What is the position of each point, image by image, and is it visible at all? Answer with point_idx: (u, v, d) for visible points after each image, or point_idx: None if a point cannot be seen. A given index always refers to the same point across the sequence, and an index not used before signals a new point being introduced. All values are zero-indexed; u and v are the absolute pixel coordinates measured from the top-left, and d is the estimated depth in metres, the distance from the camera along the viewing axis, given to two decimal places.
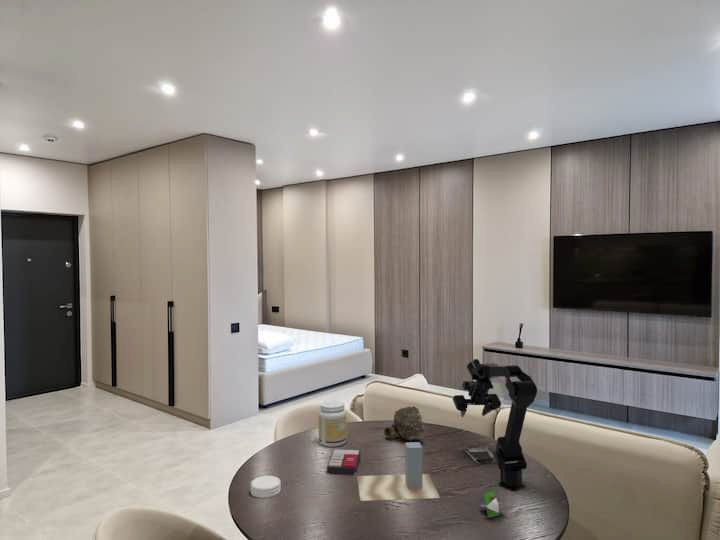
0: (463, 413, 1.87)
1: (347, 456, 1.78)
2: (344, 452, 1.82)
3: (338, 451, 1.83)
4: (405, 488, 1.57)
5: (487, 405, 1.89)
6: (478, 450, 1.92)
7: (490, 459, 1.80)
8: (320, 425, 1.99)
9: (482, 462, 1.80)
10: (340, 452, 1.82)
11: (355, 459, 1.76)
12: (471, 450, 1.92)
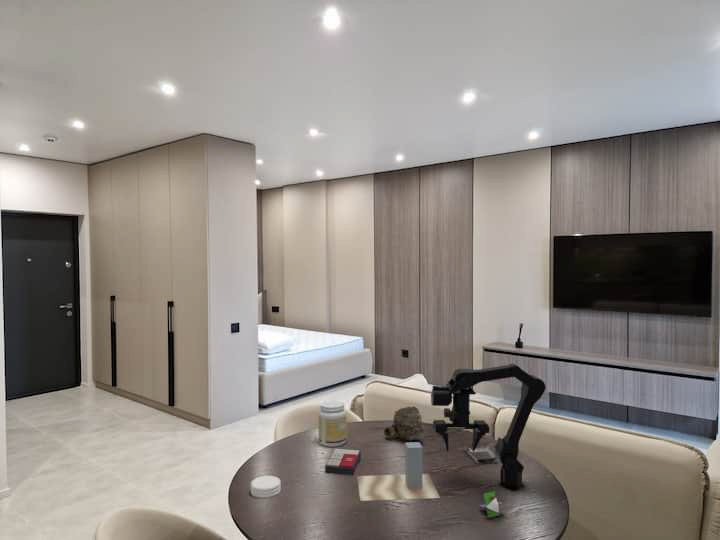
0: (446, 441, 1.59)
1: (346, 456, 1.78)
2: (344, 452, 1.82)
3: (338, 451, 1.84)
4: (405, 488, 1.57)
5: (475, 433, 1.61)
6: (479, 450, 1.92)
7: (491, 459, 1.80)
8: (320, 425, 1.99)
9: (483, 462, 1.80)
10: (340, 452, 1.82)
11: (354, 459, 1.76)
12: None
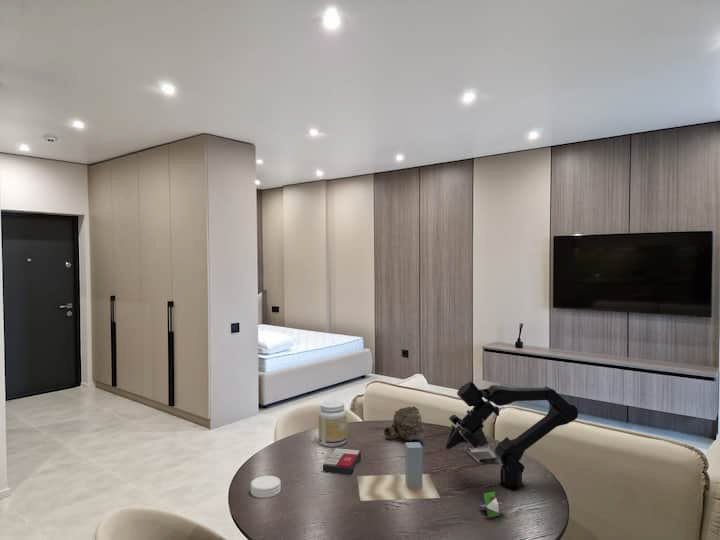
0: (450, 434, 1.61)
1: (345, 455, 1.79)
2: (344, 451, 1.83)
3: (338, 450, 1.84)
4: (405, 488, 1.57)
5: None
6: (479, 450, 1.92)
7: (493, 459, 1.80)
8: (320, 425, 1.99)
9: (485, 462, 1.80)
10: (340, 452, 1.83)
11: (352, 459, 1.76)
12: (472, 450, 1.92)
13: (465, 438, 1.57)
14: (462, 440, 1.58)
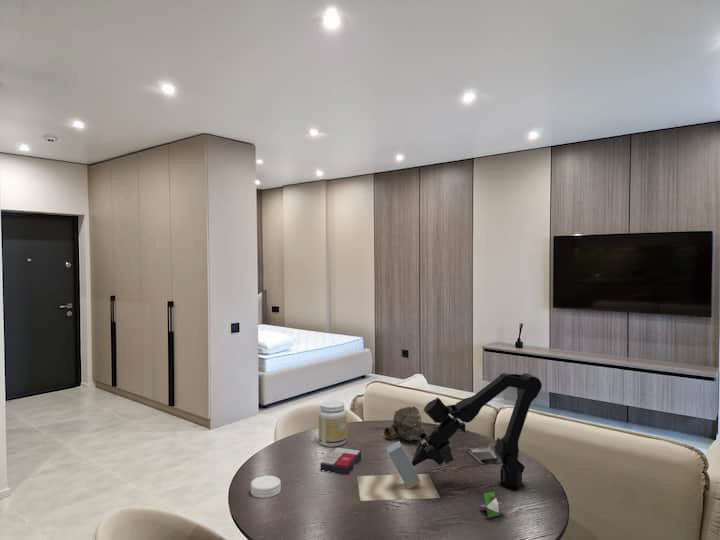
0: (416, 450, 1.60)
1: (344, 455, 1.79)
2: (344, 451, 1.83)
3: (339, 449, 1.85)
4: (405, 488, 1.57)
5: None
6: (480, 450, 1.92)
7: (494, 459, 1.80)
8: (320, 425, 1.99)
9: (486, 462, 1.80)
10: (340, 451, 1.83)
11: (350, 459, 1.76)
12: (473, 450, 1.92)
13: None
14: (428, 457, 1.57)
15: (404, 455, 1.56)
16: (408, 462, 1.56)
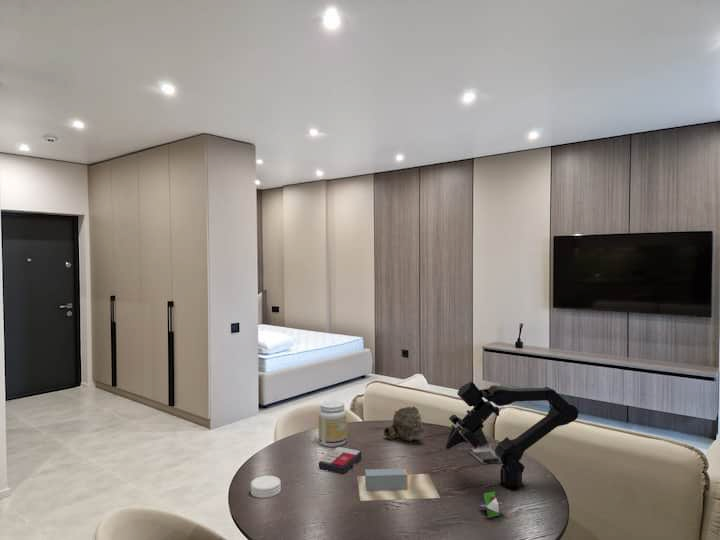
0: (450, 434, 1.61)
1: (343, 455, 1.79)
2: (344, 450, 1.84)
3: (340, 449, 1.85)
4: None
5: None
6: (481, 450, 1.92)
7: (496, 459, 1.80)
8: (320, 425, 1.99)
9: (488, 462, 1.80)
10: (341, 450, 1.84)
11: (348, 459, 1.76)
12: (474, 450, 1.91)
13: (465, 438, 1.57)
14: (462, 440, 1.58)
15: (376, 477, 1.56)
16: (384, 476, 1.56)
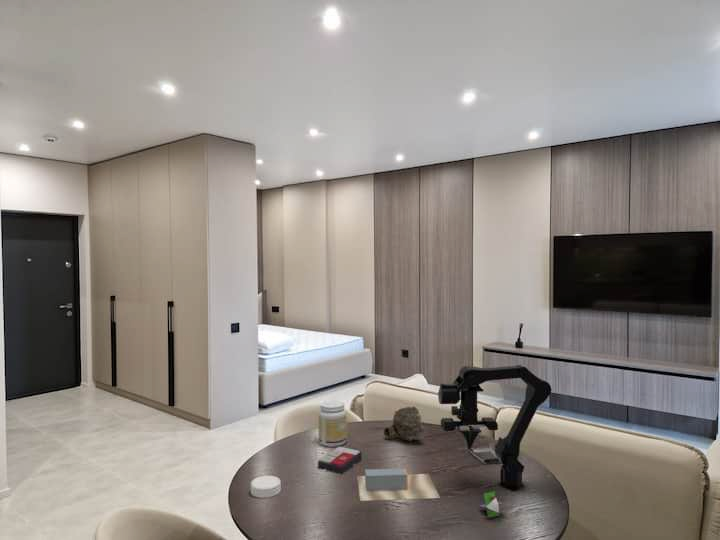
0: (467, 439, 1.59)
1: (343, 454, 1.80)
2: (344, 450, 1.84)
3: (340, 448, 1.86)
4: None
5: (470, 431, 1.60)
6: (482, 450, 1.92)
7: (497, 459, 1.80)
8: (320, 425, 1.99)
9: (489, 462, 1.80)
10: (341, 450, 1.84)
11: (348, 459, 1.76)
12: (475, 450, 1.91)
13: None
14: None
15: (376, 477, 1.56)
16: (384, 476, 1.56)
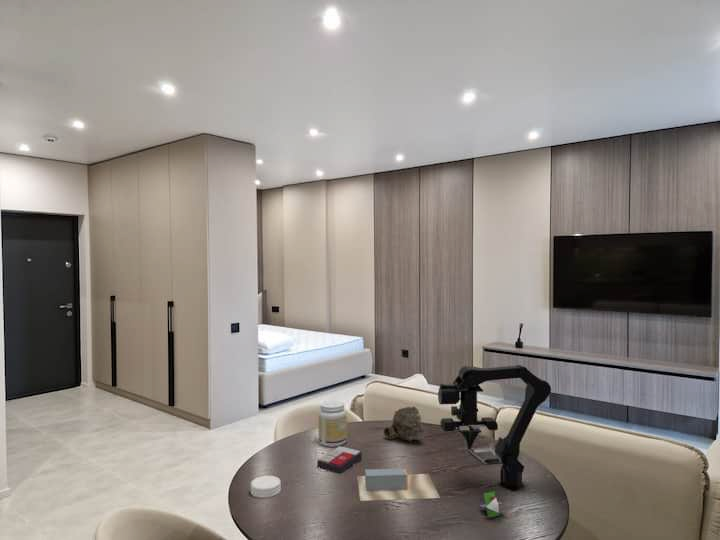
0: (467, 439, 1.59)
1: (343, 454, 1.80)
2: (345, 450, 1.84)
3: (340, 448, 1.86)
4: None
5: (470, 431, 1.60)
6: (482, 450, 1.92)
7: (498, 459, 1.80)
8: (320, 425, 1.99)
9: (490, 462, 1.80)
10: (341, 450, 1.85)
11: (347, 458, 1.76)
12: (475, 450, 1.91)
13: None
14: None
15: (376, 477, 1.56)
16: (384, 476, 1.56)
